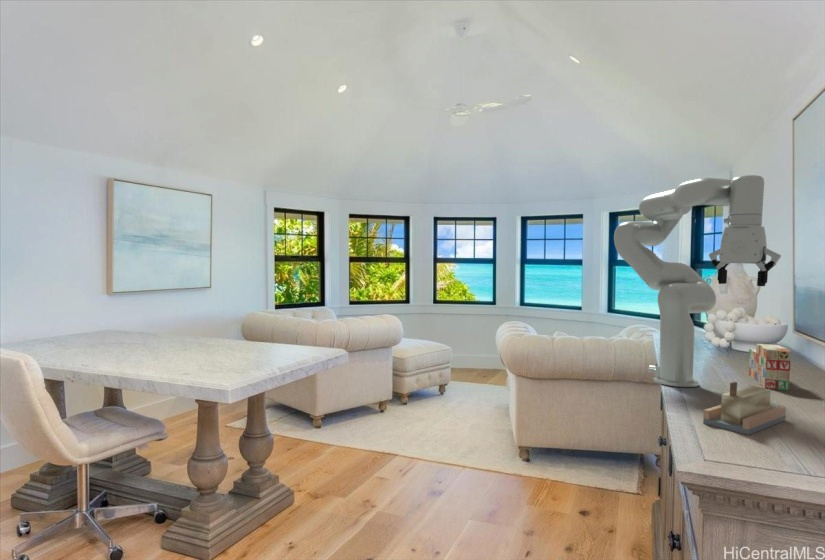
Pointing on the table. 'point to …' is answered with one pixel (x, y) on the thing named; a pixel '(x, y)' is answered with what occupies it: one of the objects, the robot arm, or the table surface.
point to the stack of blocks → (770, 366)
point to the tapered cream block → (744, 403)
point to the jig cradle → (745, 420)
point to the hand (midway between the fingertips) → (741, 284)
